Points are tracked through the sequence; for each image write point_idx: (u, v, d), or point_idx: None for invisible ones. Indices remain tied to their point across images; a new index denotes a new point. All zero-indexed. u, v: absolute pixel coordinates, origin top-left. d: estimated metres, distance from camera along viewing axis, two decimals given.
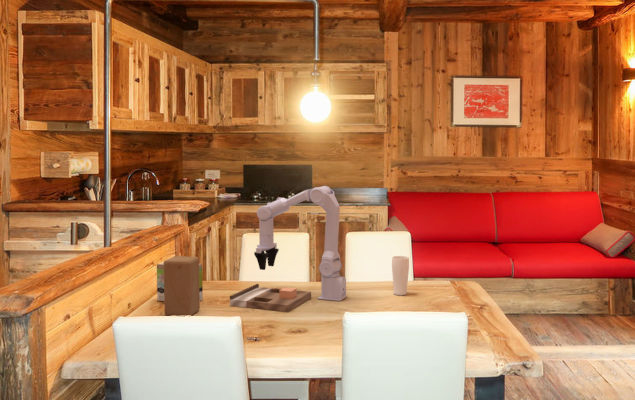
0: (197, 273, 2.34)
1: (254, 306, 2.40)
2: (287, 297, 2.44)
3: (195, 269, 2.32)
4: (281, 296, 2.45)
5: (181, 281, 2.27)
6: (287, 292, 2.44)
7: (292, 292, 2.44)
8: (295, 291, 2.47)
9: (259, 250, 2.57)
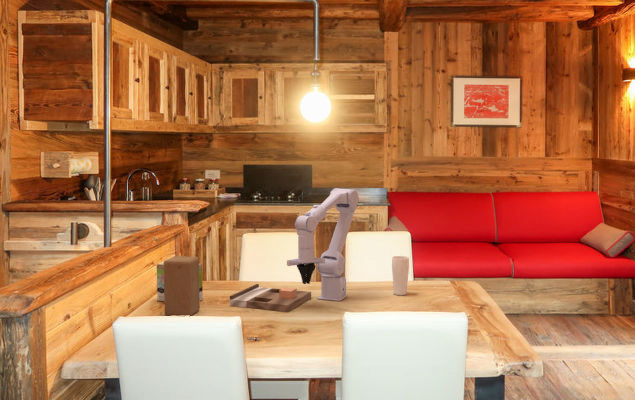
0: (197, 273, 2.34)
1: (254, 306, 2.40)
2: (287, 297, 2.44)
3: (195, 269, 2.32)
4: (281, 296, 2.45)
5: (181, 281, 2.27)
6: (287, 292, 2.44)
7: (292, 292, 2.44)
8: (295, 291, 2.47)
9: (288, 263, 2.39)
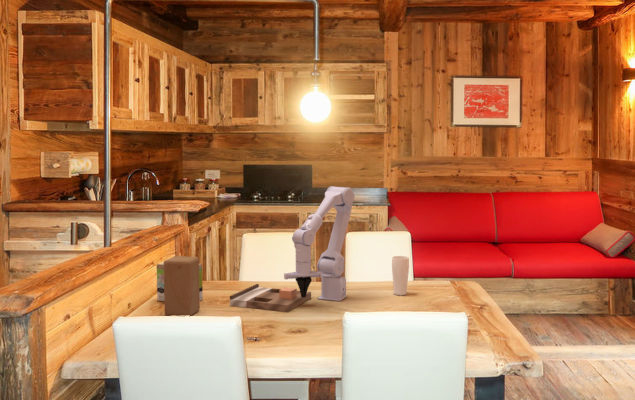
0: (197, 273, 2.34)
1: (254, 306, 2.40)
2: (287, 297, 2.44)
3: (195, 269, 2.32)
4: (281, 296, 2.45)
5: (181, 281, 2.27)
6: (287, 292, 2.44)
7: (292, 292, 2.44)
8: (295, 291, 2.47)
9: (284, 276, 2.41)
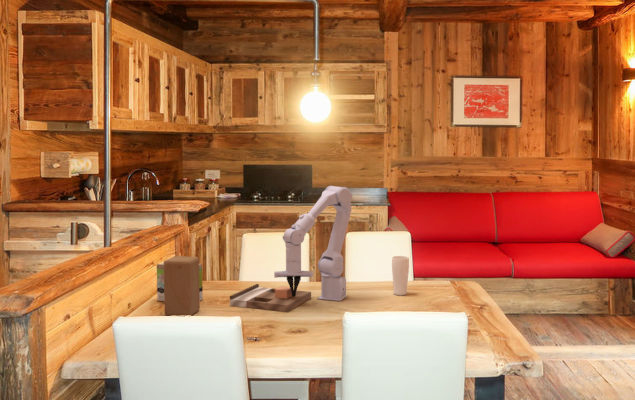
0: (197, 273, 2.34)
1: (254, 306, 2.40)
2: (282, 296, 2.45)
3: (195, 269, 2.32)
4: (277, 295, 2.46)
5: (181, 281, 2.27)
6: (282, 291, 2.45)
7: (287, 291, 2.45)
8: None
9: (274, 274, 2.44)
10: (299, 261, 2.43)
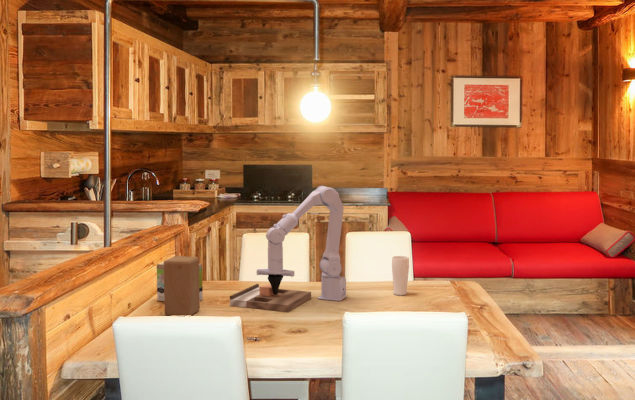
0: (197, 273, 2.34)
1: (254, 306, 2.40)
2: (266, 294, 2.49)
3: (195, 269, 2.32)
4: (261, 292, 2.50)
5: (181, 281, 2.27)
6: (266, 289, 2.49)
7: (271, 289, 2.49)
8: None
9: None
10: (279, 260, 2.45)
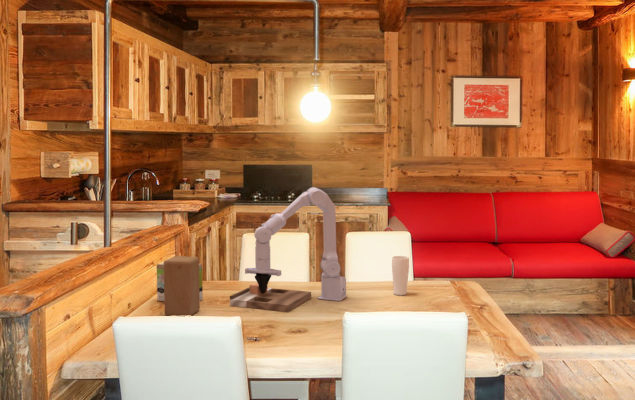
0: (197, 273, 2.34)
1: (254, 306, 2.40)
2: (254, 292, 2.52)
3: (195, 269, 2.32)
4: (251, 291, 2.54)
5: (181, 281, 2.27)
6: (254, 287, 2.52)
7: (259, 288, 2.51)
8: None
9: None
10: (266, 259, 2.47)
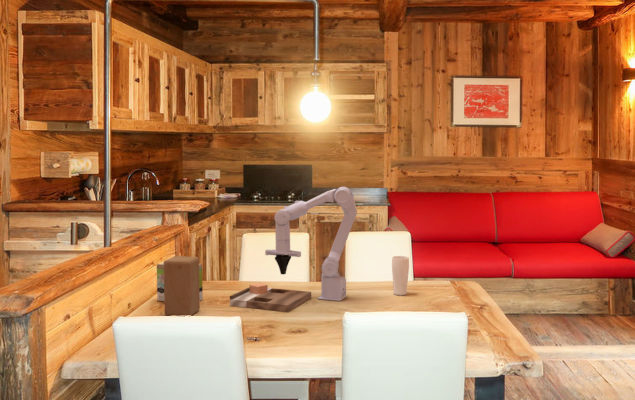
0: (197, 273, 2.34)
1: (254, 306, 2.40)
2: (254, 292, 2.52)
3: (195, 269, 2.32)
4: (251, 291, 2.54)
5: (181, 281, 2.27)
6: (254, 287, 2.52)
7: (259, 288, 2.51)
8: (265, 287, 2.53)
9: None
10: (286, 241, 2.52)
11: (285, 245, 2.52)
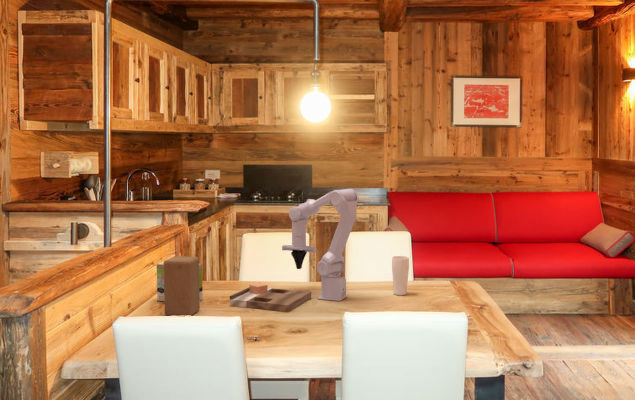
0: (197, 273, 2.34)
1: (254, 306, 2.40)
2: (254, 292, 2.52)
3: (195, 269, 2.32)
4: (251, 291, 2.54)
5: (181, 281, 2.27)
6: (254, 287, 2.52)
7: (259, 288, 2.51)
8: (265, 287, 2.53)
9: None
10: (302, 236, 2.62)
11: (301, 241, 2.62)
